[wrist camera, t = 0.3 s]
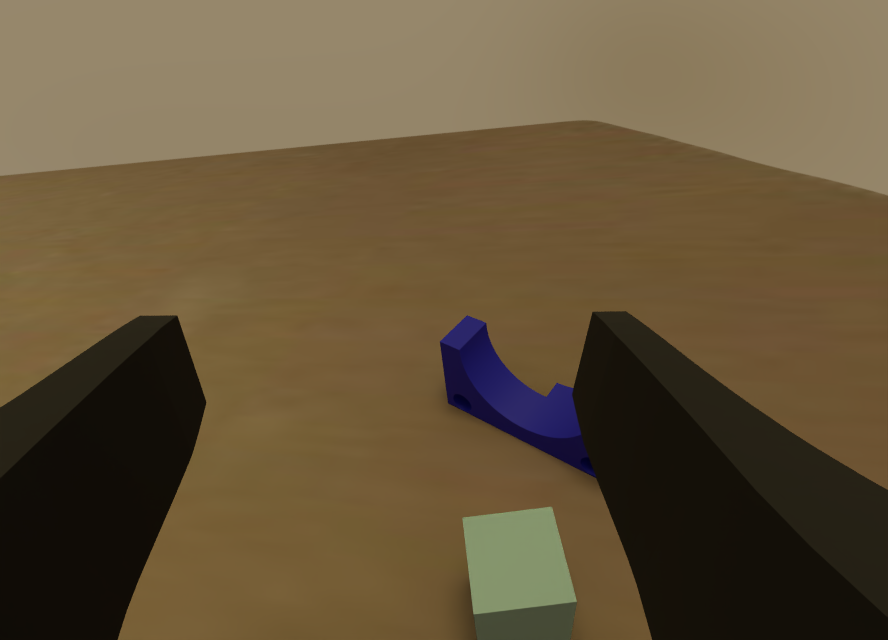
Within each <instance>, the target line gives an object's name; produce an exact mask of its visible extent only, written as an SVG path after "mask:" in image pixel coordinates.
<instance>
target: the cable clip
mask: <svg viewBox="0 0 888 640" xmlns="http://www.w3.org/2000/svg"><path fill="white" fill-rule="evenodd" d="M440 346H441V353H442V361H443V368H444V376H445V383H446V391H447V398H448V403H449V404H451V405H453V406H455V407H457V408H459V409H461V410H463V411H465V412H467V413H469V414H471V415H473V416H475V417H477V418H479V419H481V420H483V421H485V422H487V423H489V424H491V425H492V426H494V427H496V428H498V429H500V430H502V431H504V432H506V433H508V434H510V435H512V436H514V437H516V438H518V439H520V440H522V441H524V442H526V443H528V444H530V445H532V446H534V447H536V448H538V449H540V450H542V451H544V452H546V453H548V454H550V455H552V456H554V457H556V458H558V459H560V460H561V461H563V462H565V463H567V464H569V465H571V466H573V467H575V468H577V469H579V470H581V471H583V472H585V473H587V474H589V475H591V476H593V477H595V478H596V475H595V473H594V470H593V467H592V465H591V462H590V460H589V457H588V454H587V451H586V449H585V446H584V443H583V439H582V435H581V431H580V427H579V424H578V419H577V415H576V410H575V406H574V402H573V397H572V392H573V388H570V387H567V386H564V385H561V384H558V383H557V384H556V385H555V386H554V388H553V389H552V390H551V392H550V393H549V394H548V396H547V397H545V396H543V395H541V394H539V393H537V392H535V391H534V390H532V389H530V388H529V387H527V386H526V385H525V384H523V383H522V382H521V381H520V380H518V379H517V378H516V377H515V376H514V375H513V374H512V373H511V372H510V371H509V370H508V369H507V368H506V366H505V365H504V364H503V363H502V361H501V360H500V359H499V357H498V355H497V354H496V352H495V350H494V348H493V346H492V344H491V342H490V339H489V336H488V332H487V326H486V323H485V322H483V321H480V320H477V319H475V318H472V317H470V316H466V317H465V318H464V319H463V320H462V321H461V322H460V323H459V324H458V325H457V326H456V327H455V328H454V329H453V330H452V331H451V332H449V333H448V334H447V335H446V336H445V337H444V338H443V339H442V340H441V341H440Z"/></svg>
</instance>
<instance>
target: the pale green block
mask: <svg viewBox="0 0 888 640" xmlns="http://www.w3.org/2000/svg"><path fill="white" fill-rule="evenodd" d="M463 526H464V535H465V543H466V552H467V561H468V570H469V578H470V587H471V596H472V605H473V613H474V621H475V628H476V635H477V640H570V639H571V633H572V627H573V621H574V615H575V610H576V604H577V600H576V597H575V593H574V589H573V585H572V581H571V578H570V574H569V570H568V566H567V562H566V559H565V555H564V551H563V547H562V544H561V540H560V536H559V532H558V528H557V525H556V521H555V517H554V513H553V510H552V507H546V508H538V509H530V510H522V511H514V512H505V513H497V514H489V515H481V516H473V517H465V518H463Z"/></svg>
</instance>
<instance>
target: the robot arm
mask: <svg viewBox="0 0 888 640" xmlns="http://www.w3.org/2000/svg"><path fill="white" fill-rule="evenodd" d="M572 397H573V402H574V406H575V410H576V415H577V419H578V424H579V427H580V431H581V435H582V439H583V443H584V446H585V449H586V451H587V454H588V457H589V460H590V462H591V465H592V467H593V470H594V473H595V475H596V478H597V481H598V483H599V486H600V488H601V491H602V494H603V496H604V499H605V501H606V504H607V506H608V509H609V511H610V514H611V517H612V519H613V522H614V524H615V527H616V529H617V532H618V535H619V537H620V540H621V542H622V545H623V547H624V550H625V553H626V555H627V558H628V561H629V564H630V566H631V569H632V572H633V575H634V578H635V581H636V584H637V587H638V591H639V594H640V598H641V601H642V605H643V608H644V612H645V615H646V619H647V623H648V626H649V630H650V633H651V637H652V640H888V490H887V489H885V488H883V487H881V486H880V485H878V484H876V483H874V482H872V481H871V480H869V479H867V478H865V477H864V476H862V475H860V474H859V473H857V472H855V471H854V470H852V469H850V468H849V467H847V466H845V465H844V464H842V463H840V462H839V461H837V460H835V459H834V458H832V457H830V456H829V455H827V454H825V453H824V452H822V451H820V450H819V449H817V448H815V447H814V446H812V445H811V444H809V443H807V442H806V441H804V440H803V439H801V438H800V437H798V436H796V435H795V434H793V433H792V432H790V431H789V430H787V429H786V428H784V427H783V426H781V425H780V424H779V423H777V422H776V421H774V420H773V419H771V418H770V417H768V416H767V415H765V414H764V413H762V412H761V411H759V410H758V409H757V408H755V407H754V406H752V405H751V404H749V403H748V402H746V401H745V400H744V399H742V398H741V397H740V396H738V395H737V394H735V393H734V392H733V391H731V390H730V389H728V388H727V387H726V386H724V385H723V384H722V383H720V382H719V381H718V380H716V379H715V378H714V377H712V376H711V375H710V374H708V373H707V372H706V371H704V370H703V369H702V368H700V367H699V366H698V365H696V364H695V363H694V362H693V361H691V360H690V359H689V358H687V357H686V356H685V355H683V354H682V353H681V352H680V351H678V350H677V349H676V348H674V347H673V346H672V345H671V344H669V343H668V342H667V341H665V340H664V339H663V338H661V337H660V336H659V335H658V334H656V333H655V332H654V331H652V330H651V329H650V328H648V327H647V326H646V325H644V324H643V323H642V322H640V321H639V320H638V319H636V318H635V317H633V316H632V315H630V314H629V313H627V312H626V311H623V312H592V316H591V320H590V324H589V328H588V332H587V336H586V340H585V344H584V348H583V352H582V356H581V360H580V364H579V368H578V372H577V376H576V380H575V384H574V388H573V392H572ZM205 406H206V400H205V397H204V394H203V391H202V388H201V385H200V382H199V379H198V376H197V373H196V370H195V367H194V364H193V361H192V358H191V355H190V352H189V349H188V346H187V343H186V340H185V337H184V334H183V331H182V328H181V325H180V322H179V319H178V316H139V317H137V318H135V319H134V320H132V321H130V322H129V323H127V324H125V325H124V326H122V327H120V328H119V329H117V330H116V331H114V332H113V333H111V334H110V335H108V336H107V337H105V338H104V339H102V340H101V341H99V342H98V343H96V344H95V345H93V346H92V347H90V348H89V349H87V350H86V351H84V352H83V353H81V354H80V355H79V356H77V357H76V358H74V359H73V360H71V361H70V362H68V363H67V364H65V365H64V366H62V367H61V368H59V369H58V370H56V371H55V372H53V373H52V374H50V375H49V376H48V377H46V378H45V379H43V380H42V381H40V382H39V383H37V384H36V385H34V386H33V387H31V388H30V389H28V390H27V391H25V392H24V393H22V394H21V395H19V396H18V397H16V398H15V399H13V400H12V401H10V402H8V403H7V404H5V405H4V406H2V407H0V640H117V639H118V636H119V633H120V630H121V627H122V624H123V621H124V618H125V614H126V611H127V609H128V606H129V603H130V601H131V598H132V596H133V593H134V590H135V588H136V585H137V583H138V580H139V578H140V575H141V573H142V571H143V569H144V566H145V564H146V562H147V559H148V557H149V555H150V552H151V550H152V548H153V545H154V543H155V541H156V538H157V536H158V534H159V532H160V529H161V527H162V525H163V522H164V520H165V518H166V515H167V513H168V511H169V508H170V506H171V504H172V502H173V499H174V497H175V495H176V492H177V490H178V487H179V485H180V483H181V480H182V478H183V476H184V473H185V471H186V469H187V466H188V464H189V461H190V459H191V456H192V454H193V450H194V447H195V443H196V440H197V436H198V433H199V429H200V425H201V421H202V417H203V413H204V410H205Z"/></svg>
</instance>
